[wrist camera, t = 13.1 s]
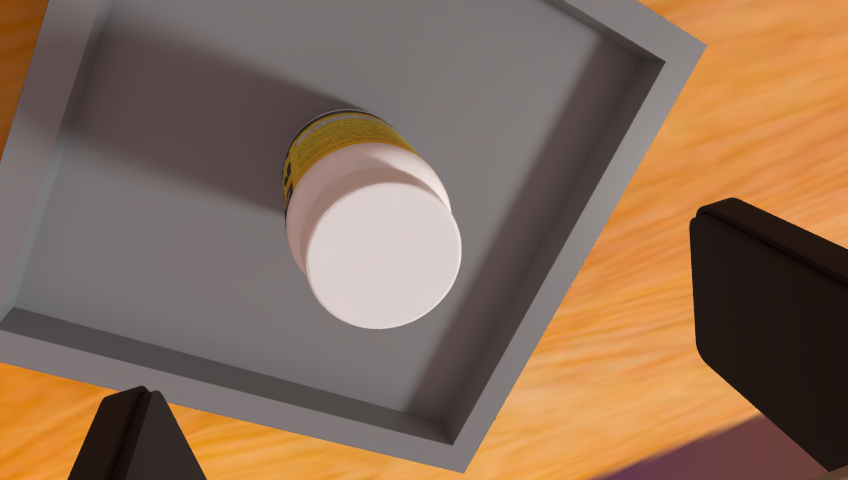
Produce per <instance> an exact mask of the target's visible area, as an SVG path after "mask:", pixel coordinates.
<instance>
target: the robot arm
mask: <svg viewBox="0 0 848 480" xmlns="http://www.w3.org/2000/svg"><path fill="white" fill-rule="evenodd" d="M689 230H690V248H691V265H692V283H693V300H694V318H695V335H696V346H697V349H698V352H699V354H700V356H701V358H702V359H703V361H704V362H705V363H706V364H707V365H708V366H709V367H711V368H712V369H713V370H714V371H715V372H716V373H717V374H719V375H720V376H721V377H722V378H723V379H724V380H725V381H726V382H728V383H729V384H730V385H731V386H732V387H733V388H734V389H735V390H737V391H738V392H739V393H740V394H741V395H742V396H743V397H745V398H746V399H747V400H748V401H749V402H750V403H751V404H752V405H754V406H755V407H756V408H757V409H758V410H759V411H760V412H762V413H763V414H764V415H765V416H766V417H767V418H768V419H770V420H771V421H772V422H773V423H774V424H775V425H776V426H777V427H779V428H780V429H781V430H782V431H783V432H784V433H786V435H788V436H789V437H790V438H791V439H792V440H793V441H795V442H796V443H797V444H798V445H799V446H800V447H801V448H802V449H803V450H805V451H806V452H807V453H808V454H809V455H810V456H811V457H813V458H814V459H815V460H816V461H817V462H818V463H819V464H820V465H822V466H823V467H824V468H825V469H826V470H827V471H828V472H829V473H826V474H823V475H820V476H818V477H815V478H812V479H810V480H848V249H846V248H844V247H841V246H839V245H837V244H835V243H833V242H831V241H828V240H826V239H824V238H822V237H820V236H818V235H815V234H813V233H811V232H809V231H807V230H805V229H802V228H800V227H798V226H796V225H794V224H792V223H789V222H787V221H785V220H783V219H781V218H779V217H776V216H774V215H772V214H770V213H768V212H765V211H763V210H761V209H759V208H757V207H755V206H752V205H750V204H748V203H746V202H744V201H742V200H739V199H737V198H733V197H732V198H728V199H724V200H721V201H718V202H715V203H712V204H709V205H706V206H702V207H700V208H699V209H698V211H697V213H696V217H695V218H693V219H692V220H691V221H690V227H689ZM67 480H207V479H206V477H205V475H204V473H203V471H202V469H201V467H200V465H199V464H198V462H197V460H196V458H195V456H194V454H193V452H192V450H191V448H190V446H189V444H188V442H187V440H186V439H185V437H184V435H183V433H182V431H181V429H180V427H179V425H178V423H177V421H176V419H175V417H174V415H173V414H172V412H171V410H170V408H169V406H168V404H167V402H166V400H165V398H164V396H163V395H162V393H161V392H160V391H158V390H154V391H151V392H149V390H148V389H147V388H146V387H145V386H142V385H141V386H138V387H135V388H131V389H128V390H125V391H122V392H119V393H116V394H113V395H109V396H107V397H104V399H103V400H102V401H101V404H100V406H99V408H98V411H97V413H96V415H95V417H94V420H93V422H92V424H91V427H90V429H89V431H88V434H87V436H86V438H85V440H84V443H83V445H82V447H81V450H80V452H79V454H78V456H77V459H76V461H75V463H74V466H73V468H72V470H71V473H70V475H69V477H68V479H67Z"/></svg>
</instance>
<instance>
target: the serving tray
mask: <svg viewBox="0 0 848 480" xmlns="http://www.w3.org/2000/svg"><path fill="white" fill-rule="evenodd" d="M706 47H707V45H706V44H704V43H703V42H701V41H700V40H698V39H696V38H695V37H693V36H692V35H690V34H689V33H687V32H685V31H684V30H682V29H681V28H679V27H677V26H676V25H674V24H673V23H671V22H670V21H668V20H666V19H665V18H663V17H662V16H660V15H658V14H657V13H655V12H654V11H652V10H651V9H649V8H647V7H646V6H644V5H643V4H641V3H639V2H638V1H636V0H49V2H48V6H47V9H46V12H45V16H44V19H43V22H42V26H41V29H40V32H39V36H38V39H37V42H36V46H35V49H34V52H33V56H32V59H31V62H30V66H29V69H28V72H27V76H26V79H25V82H24V86H23V89H22V92H21V96H20V99H19V102H18V106H17V109H16V112H15V115H14V119H13V122H12V125H11V129H10V132H9V135H8V139H7V142H6V145H5V149H4V152H3V155H2V159H1V162H0V362H1V363H5V364H10V365H14V366H18V367H22V368H26V369H30V370H35V371H39V372H43V373H47V374H51V375H55V376H60V377H64V378H68V379H72V380H76V381H80V382H85V383H89V384H93V385H97V386H101V387H105V388H110V389H114V390H118V391H125V390H128V389H131V388H135V387H138V386H141V385H142V386H145V387H146V388H147V389H148V390H149V392H151V391H154V390H158V391H160V392H161V393H162V395H163V396H164V398H165V400H166V402H168V403H172V404H176V405H181V406H185V407H189V408H193V409H197V410H201V411H206V412H210V413H214V414H218V415H222V416H226V417H231V418H235V419H239V420H243V421H247V422H251V423H256V424H260V425H264V426H268V427H272V428H276V429H281V430H285V431H289V432H293V433H297V434H301V435H306V436H310V437H314V438H318V439H322V440H326V441H331V442H335V443H339V444H343V445H347V446H352V447H356V448H360V449H364V450H368V451H372V452H377V453H381V454H385V455H389V456H393V457H397V458H402V459H406V460H410V461H414V462H418V463H422V464H427V465H431V466H435V467H439V468H443V469H447V470H452V471H456V472H460V473H464V472H465V471H466V469H467V467H468V465H469V464H470V462H471V460H472V458H473V457H474V455H475V453H476V451H477V450H478V448H479V446H480V444H481V442H482V441H483V439H484V437H485V435H486V434H487V432H488V430H489V428H490V427H491V425H492V423H493V421H494V420H495V418H496V416H497V414H498V413H499V411H500V409H501V407H502V406H503V404H504V402H505V400H506V398H507V397H508V395H509V393H510V391H511V390H512V388H513V386H514V384H515V383H516V381H517V379H518V377H519V376H520V374H521V372H522V370H523V369H524V367H525V365H526V363H527V362H528V360H529V358H530V356H531V354H532V353H533V351H534V349H535V347H536V346H537V344H538V342H539V340H540V339H541V337H542V335H543V333H544V332H545V330H546V328H547V326H548V325H549V323H550V321H551V319H552V318H553V316H554V314H555V312H556V311H557V309H558V307H559V305H560V303H561V302H562V300H563V298H564V296H565V295H566V293H567V291H568V289H569V288H570V286H571V284H572V282H573V281H574V279H575V277H576V275H577V274H578V272H579V270H580V268H581V267H582V265H583V263H584V261H585V259H586V258H587V256H588V254H589V252H590V251H591V249H592V247H593V245H594V244H595V242H596V240H597V238H598V237H599V235H600V233H601V231H602V230H603V228H604V226H605V224H606V223H607V221H608V219H609V217H610V215H611V214H612V212H613V210H614V208H615V207H616V205H617V203H618V201H619V200H620V198H621V196H622V194H623V193H624V191H625V189H626V187H627V186H628V184H629V182H630V180H631V179H632V177H633V175H634V173H635V172H636V170H637V168H638V166H639V164H640V163H641V161H642V159H643V157H644V156H645V154H646V152H647V150H648V149H649V147H650V145H651V143H652V142H653V140H654V138H655V136H656V135H657V133H658V131H659V129H660V128H661V126H662V124H663V122H664V120H665V119H666V117H667V115H668V113H669V112H670V110H671V108H672V106H673V105H674V103H675V101H676V99H677V98H678V96H679V94H680V92H681V91H682V89H683V87H684V85H685V84H686V82H687V80H688V78H689V76H690V75H691V73H692V71H693V69H694V68H695V66H696V64H697V62H698V61H699V59H700V57H701V55H702V54H703V52H704V50H705V48H706ZM339 109H357V110H362V111H366V112H369V113H372V114H374V115H377V116H378V117H380V118H382V119H384V120H385V121H386V122H388V123H389V124H390V125H391V126H392V127H393V128H394V129H395V130H396V131H397V132H398V133H399V134H400V135H401V136H402V137H403V138H404V139H405V141H406V142H407V143H408V144H409V145H410V146H411V147H412V148H413V149H414V150H415V151H416V152H417V154H418V155H419V156H420V157H421V158H422V159H423V160H424V161H425V162H426V163H427V164H428V165H429V166H430V167H431V168H432V169H433V170H434V172H435V173H436V175H437V176H438V178H439V179H440V181H441V183H442V185H443V186H444V189H445V191H446V193H447V196H448V199H449V202H450V207H451V213H452V215H453V217H454V219H455V221H456V224H457V226H458V229H459V233H460V237H461V262H460V267H459V271H458V273H457V276H456V279H455V281H454V283H453V285H452V287H451V288H450V290H449V291H448V293H447V294H446V296H445V297H444V298H443V299H442V300H441V301H440V302H439V303H438V304H437V305H436V306H435V307H434V308H433V309H432V310H430V311H429V312H428V313H426V314H425V315H423V316H422V317H420V318H418V319H416V320H415V321H412V322H410V323H407V324H405V325H402V326H397V327H393V328H386V329H369V328H362V327H358V326H354V325H351V324H349V323H346V322H344V321H342V320H340V319H338V318H336V317H335V316H333V315H332V314H331V313H329V312H328V311H327V310H326V309H325V308H324V307H323V306H322V305H321V304H320V303H319V302H318V300H317V299H316V297H315V296H314V294H313V292H312V290H311V288H310V286H309V284H308V281H307V278H306V275H305V274H304V273H303V272H302V270H301V269H300V268H299V266H298V264H297V263H296V261H295V259H294V257H293V255H292V252H291V250H290V248H289V244H288V240H287V234H286V228H285V212H284V211H285V207H284V198H283V194H284V193H283V183H282V169H283V162H284V157H285V154H286V151H287V148H288V146H289V144H290V142H291V141H292V139H293V137H294V136H295V135H296V133H297V132H298V131H299V130H300V129H301V128H302V127H303V126H304V125H305V124H307V123H308V122H309V121H311V120H312V119H314V118H315V117H317V116H319V115H321V114H324V113H327V112H330V111H334V110H339Z"/></svg>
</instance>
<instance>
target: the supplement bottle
mask: <svg viewBox="0 0 848 480" xmlns="http://www.w3.org/2000/svg"><path fill="white" fill-rule="evenodd" d="M282 183H283V193H284V194H283V198H284V207H285V211H284V212H285V228H286V234H287V240H288V244H289V248H290V250H291V252H292V255H293V257H294V259H295V261H296V263H297V264H298V266H299V268H300V269H301V270H302V272H303V273H304V274H305V275H306V278H307V281H308V284H309V286H310V288H311V290H312V292H313V294H314V296H315V297H316V299H317V300H318V302H319V303H320V304H321V305H322V306H323V307H324V308H325V309H326V310H327V311H328V312H329V313H331V314H332V315H333V316H335V317H336V318H338V319H340V320H342V321H344V322H346V323H349V324H351V325H354V326H358V327H362V328H369V329H386V328H393V327H397V326H402V325H405V324H407V323H410V322H412V321H415V320H416V319H418V318H420V317H422V316H423V315H425V314H426V313H428V312H429V311H430V310H432V309H433V308H434V307H435V306H436V305H437V304H438V303H439V302H440V301H441V300H442V299H443V298H444V297H445V296H446V294H447V293H448V291H449V290H450V288H451V287H452V285H453V283H454V281H455V279H456V276H457V273H458V271H459V267H460V262H461V237H460V233H459V229H458V226H457V224H456V221H455V219H454V217H453V215H452V213H451V207H450V202H449V199H448V196H447V193H446V191H445V189H444V186H443V185H442V183H441V181H440V179H439V178H438V176H437V175H436V173H435V172H434V170H433V169H432V168H431V167H430V166H429V165H428V164H427V163H426V162H425V161H424V160H423V159H422V158H421V157H420V156H419V155H418V154H417V152H416V151H415V150H414V149H413V148H412V147H411V146H410V145H409V144H408V143H407V142H406V141H405V139H404V138H403V137H402V136H401V135H400V134H399V133H398V132H397V131H396V130H395V129H394V128H393V127H392V126H391V125H390V124H389V123H388V122H386V121H385V120H384V119H382V118H380V117H378V116H377V115H374V114H372V113H369V112H366V111H362V110H357V109H339V110H334V111H330V112H327V113H324V114H321V115H319V116H317V117H315V118H314V119H312V120H311V121H309V122H308V123H307V124H305V125H304V126H303V127H302V128H301V129H300V130H299V131H298V132H297V133H296V135H295V136H294V137H293V139H292V141H291V142H290V144H289V146H288V148H287V151H286V154H285V157H284V162H283V169H282Z"/></svg>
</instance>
